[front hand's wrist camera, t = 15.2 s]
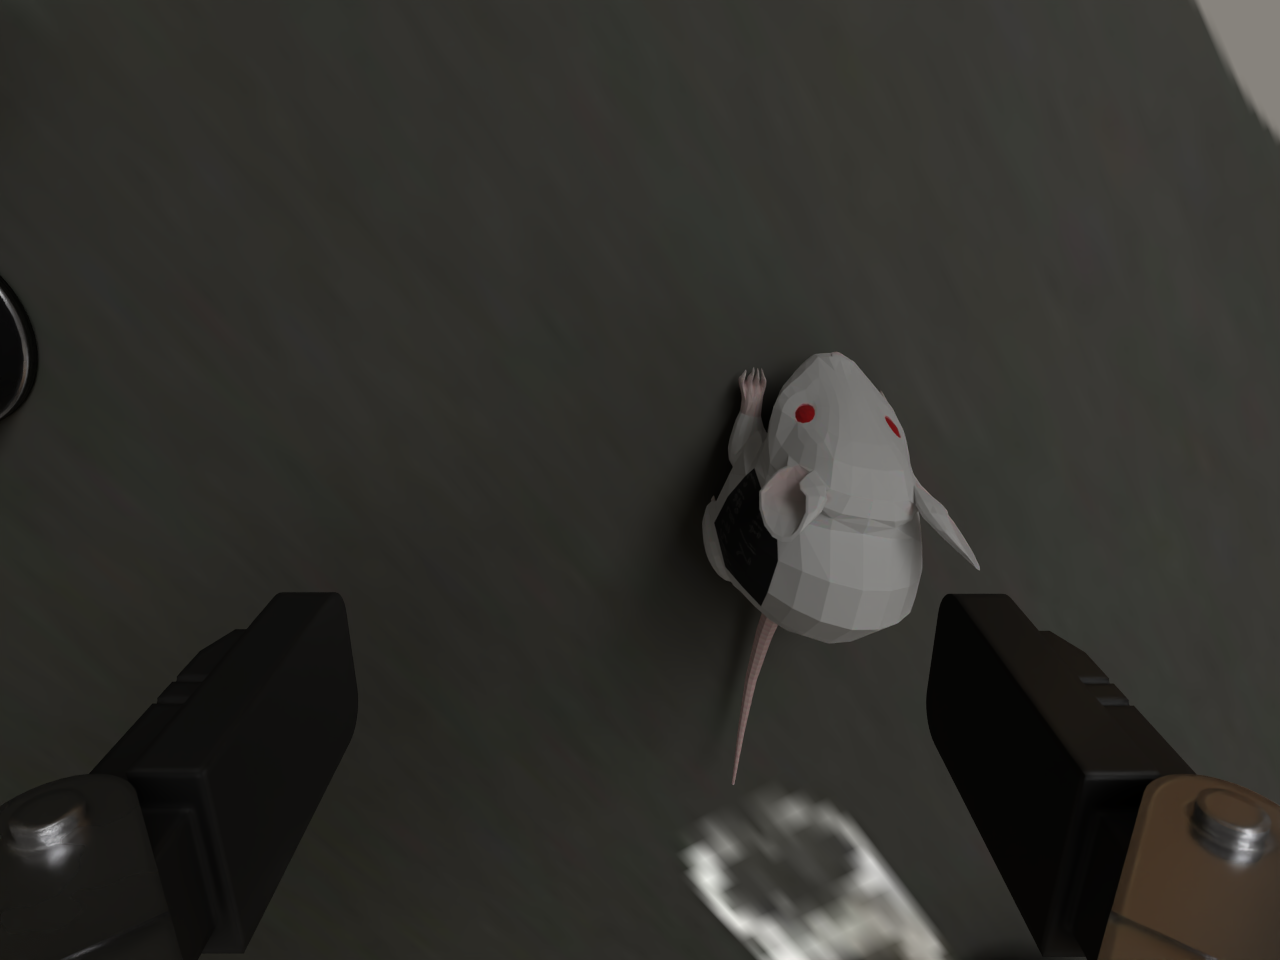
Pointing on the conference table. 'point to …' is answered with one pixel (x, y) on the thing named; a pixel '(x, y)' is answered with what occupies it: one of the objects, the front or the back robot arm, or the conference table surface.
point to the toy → (821, 511)
